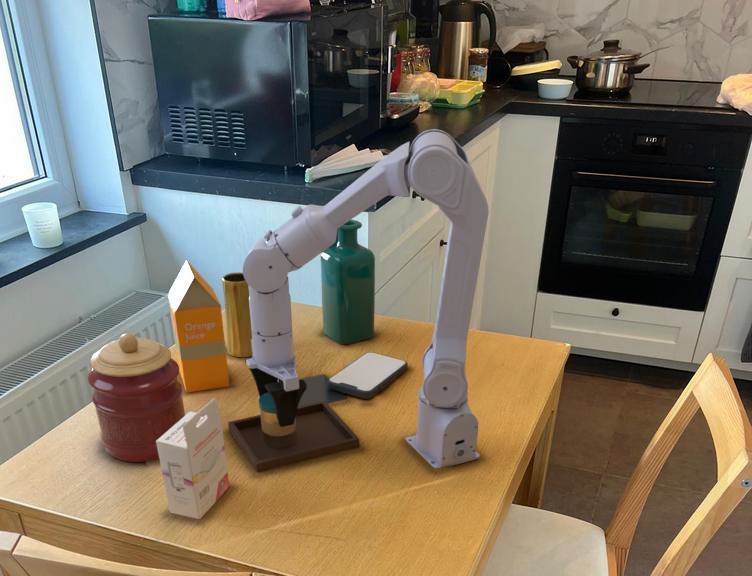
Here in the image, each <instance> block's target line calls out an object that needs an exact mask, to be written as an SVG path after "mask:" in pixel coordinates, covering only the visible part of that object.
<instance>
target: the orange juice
mask: <svg viewBox="0 0 752 576" xmlns="http://www.w3.org/2000/svg"><path fill="white" fill-rule="evenodd" d="M167 298H168V303H169V304H168V305H169V310H170V317H171V323H172V331H173V340H174V343H175V350H176V357H177V364H178V365H179V375H180V377H181V380H182V383H183V388H184V390H185V393H195V392H201V391H208V390H213V389H214V390H215V389H220V388H227V387H230V380H229V379H230V378H229V368H228V360H227V347H226V339H225V332H224V322H223V314H222V305H221V302H220V301H219V299H218V296H217V294H216V292H215V290H214V288H213V287H212V286H211V285H210V284H209V283H208V282H207V281H206V280H205V279H204V278H203V276H202V275H201V274H200V273H199V272H198V271H197V270H196V269H195V267H194V266H192V264H191V263H190V262H189V261H188V260H187V259H185V262H184V264H183V265H182V267H181V269H180V271H179V273H178V275H177V277H176V278H175V280H174V282H173V284H172V286H171V288H170V289H169V292H168V293H167Z"/></svg>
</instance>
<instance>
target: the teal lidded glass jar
mask: <svg viewBox="0 0 752 576" xmlns="http://www.w3.org/2000/svg"><path fill="white" fill-rule="evenodd" d="M258 407H259V412H260V413H259V414H260V415H261V427H262V436H263V442H264V444H265V445H267V446H269V447H273V448H284V447H288V446H291V445H292V444H294V443H295V442H296V440H297V435H296V417H295V421H294V424H293V425H289V426H285V427H281V426H280V425H279V423H278V420H277V416H276V411H275V406H274V403H273V400H272V398H271V396H270V394H269V392H267V393H265V394H263V395H262V396H259V398H258Z"/></svg>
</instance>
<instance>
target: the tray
mask: <svg viewBox="0 0 752 576" xmlns="http://www.w3.org/2000/svg"><path fill="white" fill-rule="evenodd" d="M227 424H228V431H229V432H230V434H231V436H232V437H233V439H234V440H235V442H236V443H237V445H238V446H239V447H240V449H241V451H242V452H243V454H244V455H245V457H246V458H247V460H248V461H249V463H250V464H251V466H252V467H253V469H254V471H255V472H256V473H261V472H265V471H268V470H273V469H277V468H281V467H286V466H289V465H294V464H296V463H301V462H305V461H309V460H313V459H317V458H320V457H325V456H329V455H333V454H336V453H341V452H344V451H348V450H352V449H353V450H354V449H357V448H360V437H358V435H356V434H355V432H354V431H353V430H352V429H351V428H350V427H349V425H348V424H347V423H346V422H345V421H344V420H343V419H342V418H341V416H339V415H338V414H337V412H335V410H334V409H333V408H332V407H331V406H330V405H329V403H326V402H325V401H320V402H316V403H311V404H307V405H302V406H298V408H297V412H296V435H297V440H296V442H295V443H294V444H292V445H291V446H288V447H284V448H273V447H269V446H267V445H265V444H264V442H263V436H262V427H261V414H258V415H253V416H249V417H245V418H240V419H236V420H231V421H228V422H227Z"/></svg>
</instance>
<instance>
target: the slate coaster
mask: <svg viewBox="0 0 752 576" xmlns="http://www.w3.org/2000/svg"><path fill="white" fill-rule="evenodd" d="M329 378H330V377H328V376H327V375H326V374H324V373H323V374H318V375H313V376H308V377H304V378H299V380H302V379H303V380H304V381H305V383H306V384H307V388H306V390H305V392H304V393H303V395H302V397H301V399H300V401H299V404H298V406H302V405H307V404H311V403H316V402H320V401H325V402H326V403H327V404H330V403H331V404H332V403H335V402H341V401H345V400H348V397H347V396H346V395H345V393H342V392H339V391H335V390H332V389H329V388H328V387H327V380H328V379H329Z"/></svg>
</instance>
